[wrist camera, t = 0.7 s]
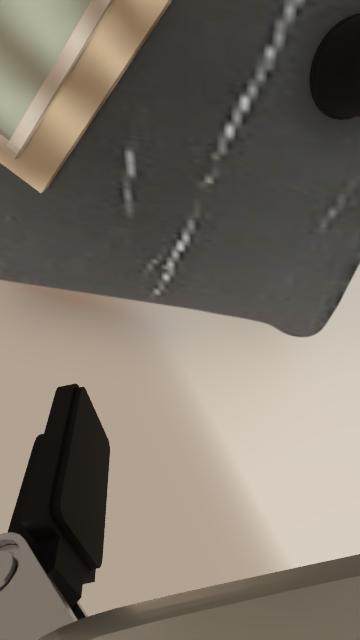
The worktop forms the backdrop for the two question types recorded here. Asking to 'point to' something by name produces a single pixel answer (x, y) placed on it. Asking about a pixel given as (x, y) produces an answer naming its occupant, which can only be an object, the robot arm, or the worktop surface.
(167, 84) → the worktop surface
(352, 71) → the aerosol can
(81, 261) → the worktop surface
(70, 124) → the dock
